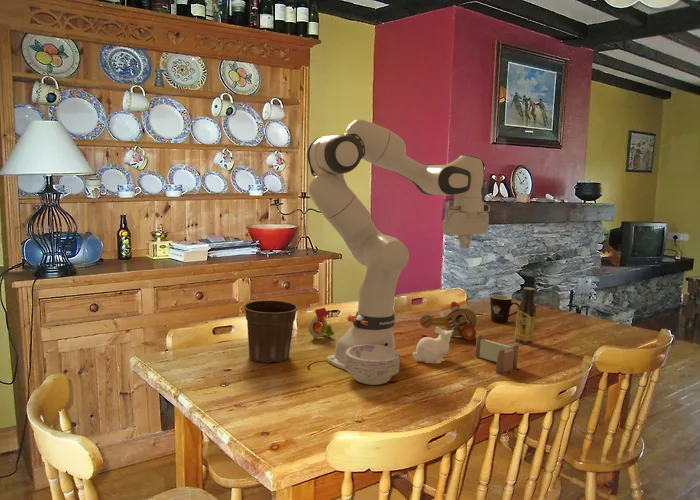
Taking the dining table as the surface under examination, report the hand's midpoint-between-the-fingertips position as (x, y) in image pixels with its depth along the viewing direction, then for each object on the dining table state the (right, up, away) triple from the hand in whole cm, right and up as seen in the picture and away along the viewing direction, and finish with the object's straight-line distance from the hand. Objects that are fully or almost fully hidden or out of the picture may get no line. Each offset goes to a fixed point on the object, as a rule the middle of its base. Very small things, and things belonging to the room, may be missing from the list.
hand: (464, 248), depth 186 cm
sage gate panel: (+7, -35, -9) cm, 37 cm away
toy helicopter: (-2, -32, +18) cm, 37 cm away
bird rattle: (-48, -31, +10) cm, 58 cm away
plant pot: (-62, -34, -12) cm, 72 cm away
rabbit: (-11, -36, -10) cm, 38 cm away
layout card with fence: (+10, -36, -9) cm, 39 cm away
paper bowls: (-32, -37, -28) cm, 56 cm away
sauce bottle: (+24, -34, +14) cm, 44 cm away
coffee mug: (+24, -30, +42) cm, 57 cm away
